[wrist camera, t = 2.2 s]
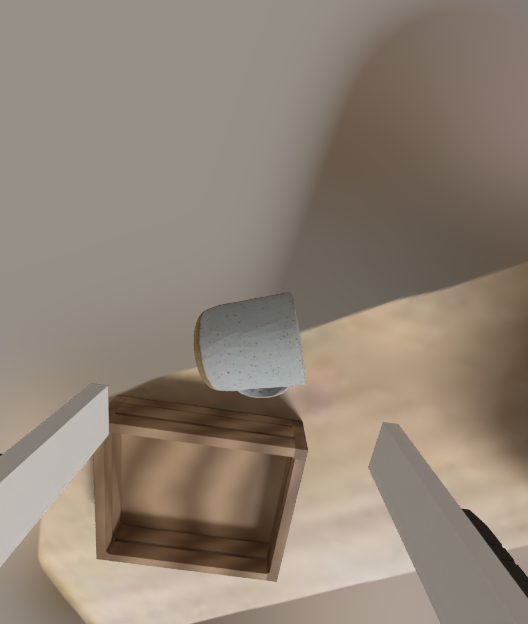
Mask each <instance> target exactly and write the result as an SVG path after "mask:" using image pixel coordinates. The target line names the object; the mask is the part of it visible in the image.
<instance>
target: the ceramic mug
mask: <svg viewBox="0 0 528 624" xmlns="http://www.w3.org/2000/svg"><path fill="white" fill-rule="evenodd" d="M194 353H195V359H196V363H197V367H198V370H199V373H200V375H201V377H202V379H203V380H204V382H205V383H206V384H207V385H208V386H209V387H210V388H212V389H214V390H220V391H238V392H239V393H241V394H243V395H246V396H249V397H254V398H269V397H274V396H278V395H280V394H283V393H284V392H286V391H287V390H288V389H289V387H290V386H300V385H305V384H306V373H305V366H304V360H303V354H302V347H301V340H300V332H299V326H298V320H297V315H296V309H295V304H294V299H293V295H292V293H290V292H287V293H282V294H277V295H272V296H266V297H260V298H255V299H250V300H245V301H240V302H234V303H228V304H223V305H218V306H216V307H213V308H210V309H207V310H206V311H204V312H203V313H202V314H201V315H200V316H199V318H198V320H197V323H196V326H195V331H194Z"/></svg>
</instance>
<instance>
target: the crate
mask: <svg viewBox="0 0 528 624" xmlns="http://www.w3.org/2000/svg"><path fill="white" fill-rule="evenodd" d="M108 411H109V435H108V436H107V437H106V439H105V440H104V441H103V442H102V444H101V445H100V446H99V447H98V448H97V450H96V451H95V452H94V453H93V458H94V490H95V522H96V554H97V559H101V560H109V561H116V562H124V563H132V564H140V565H148V566H156V567H164V568H172V569H180V570H188V571H196V572H204V573H212V574H220V575H228V576H236V577H243V578H251V579H259V580H267V581H275V582H277V578H278V574H279V570H280V565H281V561H282V557H283V553H284V549H285V545H286V540H287V536H288V532H289V528H290V524H291V520H292V515H293V511H294V507H295V503H296V499H297V494H298V490H299V486H300V482H301V478H302V474H303V469H304V465H305V461H306V457H307V453H308V448H307V442H306V437H305V432H304V427H303V422H302V421H297V420H290V419H283V418H276V417H269V416H262V415H255V414H248V413H241V412H233V411H226V410H219V409H212V408H205V407H198V406H191V405H184V404H177V403H170V402H163V401H156V400H148V399H141V398H134V397H127V396H120V395H118V396H117V397H116V398H115V399H114V400H113V401H112V402H111V403H110V404H109V405H108Z"/></svg>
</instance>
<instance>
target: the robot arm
mask: <svg viewBox="0 0 528 624" xmlns="http://www.w3.org/2000/svg"><path fill="white" fill-rule="evenodd" d="M108 435H109V411H108V386H107V385H101V384H93V383H91V384H90V385H89V386H87V387H86V388H85V389H84V390H82V391H81V392H80V393H79V394H77V395H76V396H75V397H74V398H72V399H71V400H70V401H69V402H67V403H66V404H65V405H64V406H62V407H61V408H60V409H59V410H57V411H56V412H55V413H54V414H52V415H51V416H50V417H49V418H47V419H46V420H45V421H44V422H42V423H41V424H40V425H39V426H37V427H36V428H35V429H34V430H32V431H31V432H30V433H29V434H27V435H26V436H25V437H24V438H22V439H21V440H20V441H19V442H18V443H16V444H15V445H14V446H12V447H11V448H10V449H9V450H7V451H6V452H5V453H4V454H0V567H1V565H2V564H3V563H4V562H5V561H6V559H7V558H8V557H9V556H10V554H11V553H12V552H13V551H14V549H15V548H16V547H17V546H18V545H19V543H20V542H21V541H22V540H23V539H24V537H25V536H26V535H27V534H28V532H29V531H30V530H31V529H32V528H33V526H34V525H35V524H36V523H37V522H38V520H39V519H40V518H41V517H42V516H43V514H44V513H45V512H46V511H47V509H48V508H49V507H50V506H51V505H52V503H53V502H54V501H55V500H56V498H57V497H58V496H59V495H60V494H61V492H62V491H63V490H64V489H65V487H66V486H67V485H68V484H69V483H70V481H71V480H72V479H73V478H74V476H75V475H76V474H77V473H78V472H79V470H80V469H81V468H82V467H83V466H84V464H85V463H86V462H87V461H88V459H89V458H90V457H91V456H92V455H93V453H94V452H95V451H96V450H97V448H98V447H99V446H100V445H101V444H102V442H103V441H104V440H105V439H106V437H107V436H108ZM368 468H369V470H370V472H371V474H372V477H373V479H374V481H375V483H376V485H377V487H378V489H379V492H380V494H381V496H382V498H383V500H384V502H385V505H386V507H387V509H388V511H389V513H390V515H391V517H392V520H393V522H394V524H395V526H396V528H397V530H398V533H399V535H400V537H401V539H402V541H403V543H404V546H405V548H406V550H407V552H408V554H409V556H410V558H411V561H412V563H413V565H414V567H415V569H416V571H417V574H418V576H419V578H420V580H421V582H422V584H423V586H424V589H425V591H426V593H427V595H428V597H429V599H430V602H431V603H432V606H433V608H434V610H435V612H436V614H437V617H438V619H439V621H440V623H441V624H528V577H527V576H526V575H525V573H524V572H523V571H522V570H521V568H520V567H519V566H518V565H516V564H515V562H514V559H513V558H512V557H511V556H510V554H509V553H508V552H507V550H506V549H505V548H503V547H502V544H501V543H500V542H499V540H498V539H497V538H496V537H495V535H494V534H493V533H492V531H491V530H490V529H489V528H488V526H487V525H486V524H484V523H483V522H482V521H481V520H480V519H479V518H478V517H477V516H476V515H475V514H474V513H472V512H471V511H470V510H468V509H461V508H460V506H459V505H458V504H457V502H456V501H455V500H454V498H453V497H452V496H451V494H450V493H449V492H448V490H447V489H446V488H445V486H444V485H443V484H442V482H441V481H440V480H439V478H438V477H437V475H436V474H435V473H434V471H433V470H432V469H431V467H430V466H429V465H428V463H427V462H426V461H425V459H424V458H423V457H422V455H421V454H420V453H419V451H418V450H417V449H416V447H415V446H414V445H413V443H412V442H411V440H410V439H409V438H408V436H407V435H406V434H405V432H404V431H403V430H402V428H401V427H400V426H399V424H394V423H386V422H383V424H382V427H381V430H380V433H379V436H378V439H377V442H376V445H375V448H374V451H373V454H372V457H371V460H370V463H369V466H368Z"/></svg>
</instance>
